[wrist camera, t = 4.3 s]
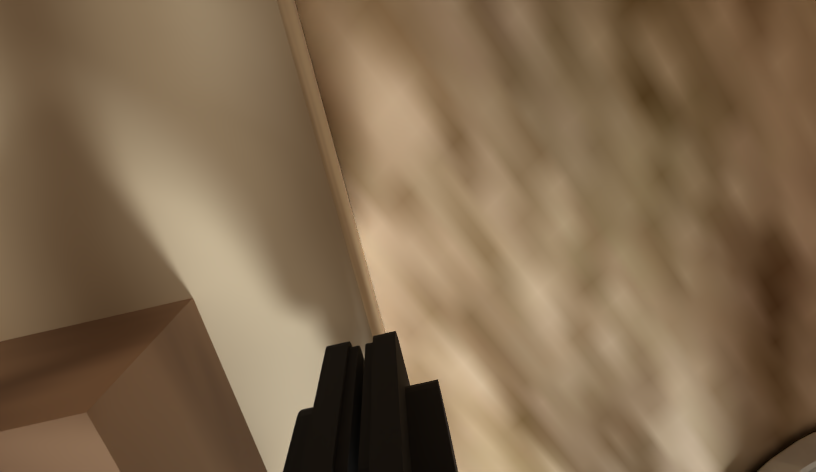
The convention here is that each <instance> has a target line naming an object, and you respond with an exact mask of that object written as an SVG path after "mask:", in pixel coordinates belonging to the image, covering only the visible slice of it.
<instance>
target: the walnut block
mask: <svg viewBox="0 0 816 472" xmlns="http://www.w3.org/2000/svg"><path fill="white" fill-rule="evenodd" d="M0 472H267V470H266V467H265V465H264V463H263V460H262V458H261V455H260V453H259V451H258V448H257V446H256V444H255V441H254V439H253V437H252V434H251V432H250V430H249V427H248V425H247V423H246V420H245V418H244V416H243V413H242V411H241V409H240V406H239V404H238V402H237V399H236V397H235V395H234V392H233V390H232V388H231V385H230V383H229V381H228V378H227V376H226V374H225V371H224V369H223V367H222V364H221V362H220V360H219V357H218V355H217V353H216V350H215V348H214V346H213V343H212V341H211V339H210V336H209V334H208V332H207V329H206V327H205V325H204V322H203V320H202V318H201V315H200V313H199V311H198V308H197V306H196V304H195V301H194V299H193V298H190V299H186V300H181V301H177V302H173V303H168V304H164V305H159V306H155V307H150V308H146V309H142V310H137V311H133V312H128V313H124V314H120V315H115V316H111V317H106V318H102V319H98V320H93V321H89V322H84V323H80V324H75V325H71V326H67V327H62V328H58V329H53V330H49V331H45V332H40V333H36V334H31V335H27V336H23V337H18V338H14V339H9V340H5V341H0Z"/></svg>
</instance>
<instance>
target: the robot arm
mask: <svg viewBox="0 0 816 472" xmlns="http://www.w3.org/2000/svg"><path fill="white" fill-rule="evenodd" d="M283 472H458V469H457V465H456V460H455V455H454V450H453V445H452V440H451V436H450V431H449V426H448V422H447V417H446V413H445V408H444V404H443V399H442V395H441V391H440V386H439V382H438V380H434V381H429V382H424V383H420V384H415V385H411V386H410V383H409V379H408V375H407V371H406V368H405V364H404V360H403V356H402V352H401V348H400V344H399V340H398V337H397V333H396V331H393V332H389V333H384V334H380V335H375V336H373V342H372V343H367V344H365V358H364V357H363V354H362V350H361V348H360V346H359V345H358V346H354V347H352V344H351V342H350V341H348V342H344V343H339V344H334V345H330V346H327V347H326V349H325V354H324V358H323V363H322V368H321V373H320V377H319V382H318V387H317V391H316V396H315V401H314V405H313V407H311V408H306V409H302V410H300V411H299V413H298V415H297V418H296V422H295V426H294V430H293V434H292V438H291V442H290V446H289V449H288V453H287V457H286V461H285V465H284V469H283ZM757 472H816V431H815V432H813V433H811V434H809V435H807V436H806V437H804V438H802V439H800V440H798V441H796V442H795V443H793V444H792V445H790V446H789V447H787V448H786V449H784V450H783V451H782V452H780V453H779V454H777V455H776V456H774V457H773V458H771V459H770V460H769V461H768V462H767V463H766V464H764V465H763V466H762V467H761V468H760V469H759V470H758V471H757Z"/></svg>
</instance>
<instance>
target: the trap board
mask: <svg viewBox="0 0 816 472" xmlns="http://www.w3.org/2000/svg"><path fill="white" fill-rule="evenodd" d="M190 298H193V299H194V301H195V304H196V306H197V308H198V311H199V313H200V315H201V318H202V320H203V322H204V325H205V327H206V329H207V332H208V334H209V336H210V339H211V341H212V343H213V346H214V348H215V350H216V353H217V355H218V357H219V360H220V362H221V364H222V367H223V369H224V371H225V374H226V376H227V378H228V381H229V383H230V385H231V388H232V390H233V392H234V395H235V397H236V399H237V402H238V404H239V406H240V409H241V411H242V413H243V416H244V418H245V420H246V423H247V425H248V427H249V430H250V432H251V434H252V437H253V439H254V441H255V444H256V446H257V448H258V451H259V453H260V455H261V458H262V460H263V463H264V465H265V467H266V470H267V472H283V469H284V465H285V461H286V457H287V453H288V449H289V446H290V442H291V438H292V434H293V430H294V426H295V422H296V418H297V415H298V413H299V411H300V410H302V409H306V408H311V407H313V405H314V401H315V396H316V391H317V387H318V382H319V377H320V373H321V368H322V363H323V358H324V354H325V349H326V347H327V346H330V345H334V344H339V343H344V342H348V341H350V342H351V344H352V347H354V346H358V345H359V346H360V348H361V350H362V354H363V357H364V358H365V344H367V343H372V342H373V336H375V335H380V334H384V333H385V330H384V326H383V323H382V319H381V315H380V312H379V308H378V304H377V301H376V297H375V293H374V290H373V286H372V282H371V279H370V275H369V271H368V268H367V264H366V260H365V257H364V253H363V249H362V246H361V242H360V238H359V235H358V231H357V227H356V224H355V220H354V216H353V213H352V209H351V205H350V202H349V198H348V194H347V191H346V187H345V183H344V180H343V176H342V172H341V169H340V165H339V161H338V158H337V154H336V150H335V147H334V143H333V139H332V136H331V132H330V128H329V125H328V121H327V117H326V114H325V110H324V106H323V103H322V99H321V95H320V92H319V88H318V84H317V81H316V77H315V73H314V70H313V66H312V62H311V59H310V55H309V51H308V48H307V44H306V40H305V37H304V33H303V29H302V26H301V22H300V18H299V15H298V11H297V7H296V4H295V0H0V341H5V340H9V339H14V338H18V337H23V336H27V335H31V334H36V333H40V332H45V331H49V330H53V329H58V328H62V327H67V326H71V325H75V324H80V323H84V322H89V321H93V320H98V319H102V318H106V317H111V316H115V315H120V314H124V313H128V312H133V311H137V310H142V309H146V308H150V307H155V306H159V305H164V304H168V303H173V302H177V301H181V300H186V299H190Z"/></svg>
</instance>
